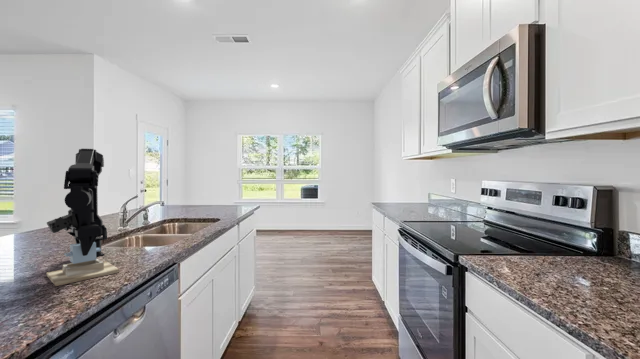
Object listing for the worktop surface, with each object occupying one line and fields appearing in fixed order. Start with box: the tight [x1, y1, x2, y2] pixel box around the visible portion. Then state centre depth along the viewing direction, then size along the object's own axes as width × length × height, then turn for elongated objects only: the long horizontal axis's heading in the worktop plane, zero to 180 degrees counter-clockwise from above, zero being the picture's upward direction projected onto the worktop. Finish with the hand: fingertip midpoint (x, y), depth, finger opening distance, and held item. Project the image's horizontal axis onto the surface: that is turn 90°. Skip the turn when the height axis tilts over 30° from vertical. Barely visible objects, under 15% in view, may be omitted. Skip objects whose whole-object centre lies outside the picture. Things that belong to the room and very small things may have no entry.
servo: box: [63, 242, 102, 264], centre depth 98 cm, size 4×9×6 cm, turn 140°
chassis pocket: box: [46, 258, 120, 287], centre depth 98 cm, size 14×16×3 cm
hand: (83, 254), depth 98 cm, fingers closed on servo, 4 cm apart
